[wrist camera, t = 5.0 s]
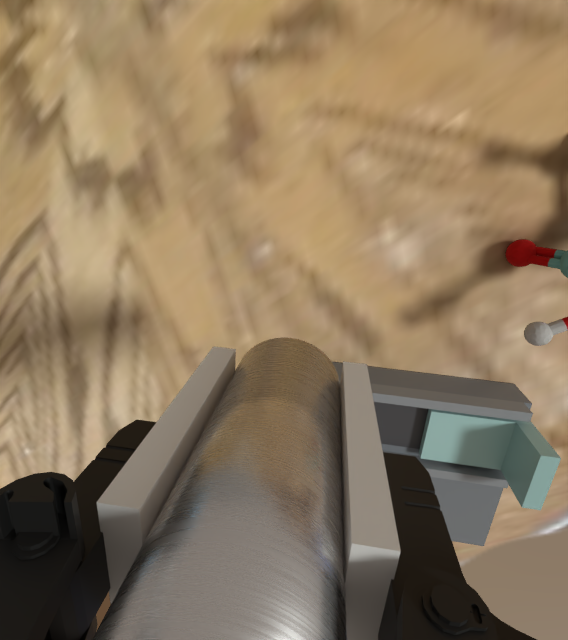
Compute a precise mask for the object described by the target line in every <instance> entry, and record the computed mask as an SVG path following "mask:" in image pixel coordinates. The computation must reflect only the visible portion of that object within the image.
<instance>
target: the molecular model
mask: <svg viewBox="0 0 568 640" xmlns="http://www.w3.org/2000/svg"><path fill="white" fill-rule="evenodd" d="M537 255H538V256H537ZM506 258H507V261H508V262H509V263H510V264H511V265H513V266H517V267H523V266H527V265H529V264H536V265H542V266H547V267H552V268H558V269H560V270H561V272H562V273H563V275H564V276H566V277H567V278H568V251H563V250H557V249H550V248H543V247H537V246H536V245H535V244H534V243H533V242H532V241H529V240H523V239H520V240H517V241H515V242H513V243H511V244H510V245H509V246H508V247H507V250H506ZM567 330H568V317H566V318H563V319H560V320H557V321H554V322H551V323H549V324H546V323H544V322H533V323H530V324H529V325H527V327H526V328H525V330H524V336H525V339H526V340H527V341H528V342H529V343H530V344H533V345H536V346H541V345H545V344H547V343H548V342H550V341H551V339H552V337H553V335H555V334H558V333H561V332H564V331H567Z"/></svg>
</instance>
